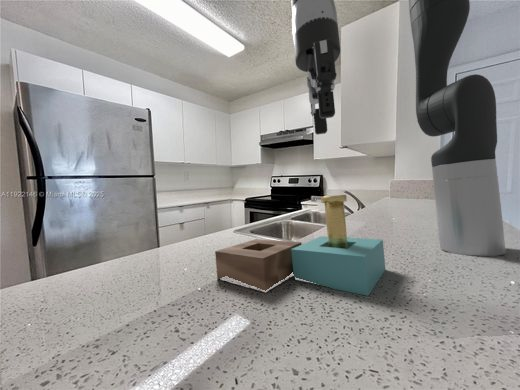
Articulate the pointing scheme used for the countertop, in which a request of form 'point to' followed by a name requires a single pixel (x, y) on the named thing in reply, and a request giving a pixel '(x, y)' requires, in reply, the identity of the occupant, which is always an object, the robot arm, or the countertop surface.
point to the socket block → (340, 264)
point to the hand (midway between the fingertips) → (324, 126)
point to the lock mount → (256, 262)
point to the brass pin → (335, 220)
